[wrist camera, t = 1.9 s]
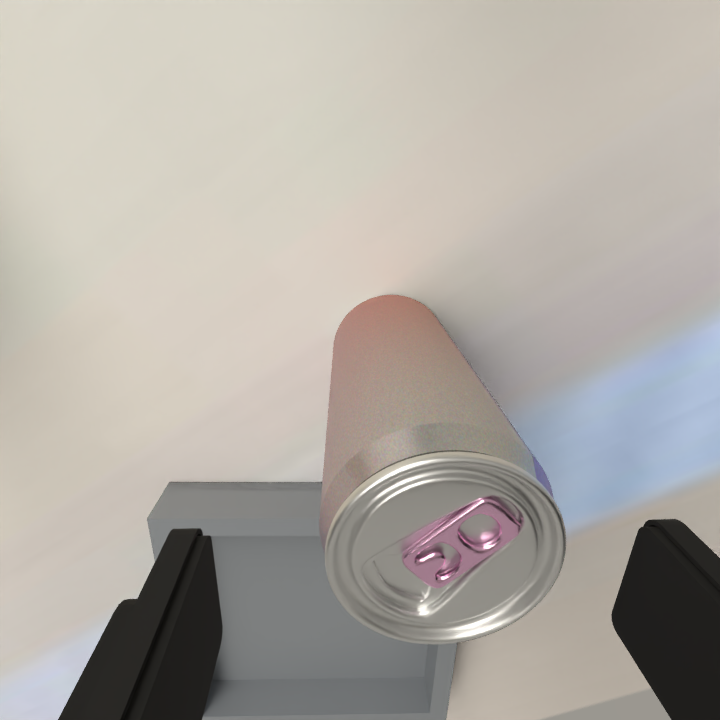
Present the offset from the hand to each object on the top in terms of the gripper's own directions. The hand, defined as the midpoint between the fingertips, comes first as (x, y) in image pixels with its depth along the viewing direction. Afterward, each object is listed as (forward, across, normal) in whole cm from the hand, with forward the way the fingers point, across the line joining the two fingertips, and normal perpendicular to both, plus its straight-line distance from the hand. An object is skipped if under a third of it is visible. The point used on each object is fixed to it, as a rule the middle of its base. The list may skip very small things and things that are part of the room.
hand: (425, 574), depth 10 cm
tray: (+15, +3, +18) cm, 24 cm away
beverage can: (+16, -1, 0) cm, 16 cm away
